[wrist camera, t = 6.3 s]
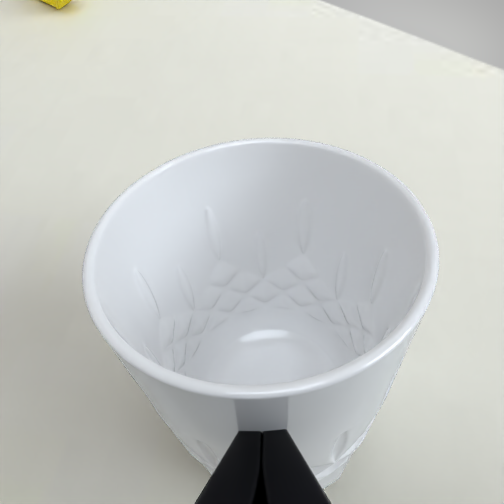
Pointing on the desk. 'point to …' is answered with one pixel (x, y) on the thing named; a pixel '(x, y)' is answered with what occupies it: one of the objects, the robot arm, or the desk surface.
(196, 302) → the white cup
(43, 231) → the desk surface
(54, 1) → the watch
